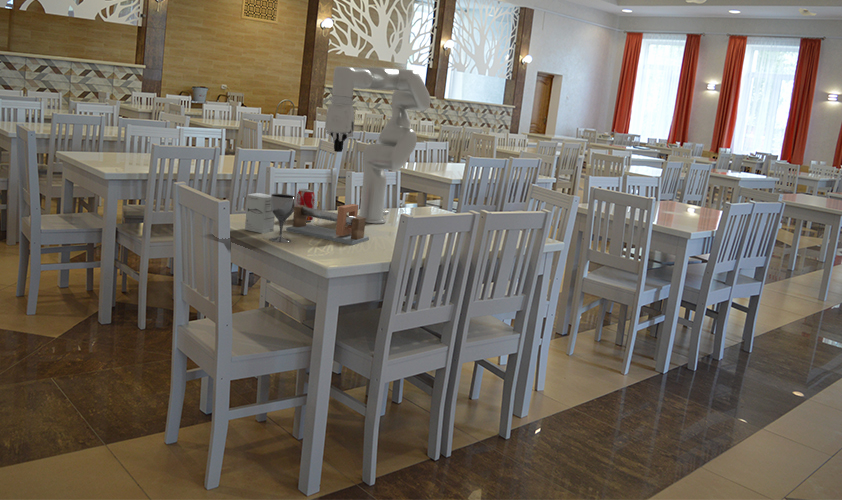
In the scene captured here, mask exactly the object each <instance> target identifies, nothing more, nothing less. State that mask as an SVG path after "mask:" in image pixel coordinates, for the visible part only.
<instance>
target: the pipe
mask: <svg viewBox="0 0 842 500" xmlns="http://www.w3.org/2000/svg"><path fill="white" fill-rule="evenodd" d="M301 214H302V215H305V216H310V217H313V218H314V219H320V220H325V221H330V222H335V223H337V215H338V212H332V211H327V210H322V209H317V208H314V209H312V208H307V207H303V208H302V210H301ZM353 218H355V217H353V216H349V214H347V215H346V225H348V224H349V225H352V221H353Z"/></svg>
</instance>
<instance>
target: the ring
mask: <svg viewBox="0 0 842 500" xmlns="http://www.w3.org/2000/svg"><path fill="white" fill-rule="evenodd" d="M358 211H359V204H356V203H350V204H343V205H340V206H338V207H337V214H338V215H337V222H336V227H335V228H336V229H335V230H336V235H338V236H344V235H348V234H351V232H352V225H349V224H346V215H348V216H353V217H357V215H358ZM346 225H347V226H346Z"/></svg>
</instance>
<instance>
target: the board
mask: <svg viewBox="0 0 842 500" xmlns="http://www.w3.org/2000/svg"><path fill="white" fill-rule="evenodd" d="M285 229H286V230H285V231H286V232H290V233H296V234H298V235H305V236H308V237H309V236H310V237H314V238H319V239H322V240H328V241H332V242H337V243H342V244H347V245H351V246H353V245H358V244H360V243H364V242H366V241H369V239H370V237H369V236H367V235H364V238H362V239H358V240H355V239H351V234H348V235H344V236H338V235H336V229H335V228H328V227H325V226H324V227H323V226H319V225H315V224H311V223H310V224H309V223H306V226H303V227H293V225H291V226H287V227H286V228H285Z"/></svg>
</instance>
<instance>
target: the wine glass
mask: <svg viewBox="0 0 842 500" xmlns="http://www.w3.org/2000/svg"><path fill="white" fill-rule="evenodd" d="M270 195H271V209H272V212H273V214H274V215H275V217H276V219H277V222H278V225H279V233H278V236H277V237H275V236H274V237H270V238H269V239H268V240H269V241H270V240H271V241H270V242H273V241H274V242H273V243H283V244H286V243H291V242H292V240H291V239H290V238H286V237H283V228H284V224H285V222H286V220H288V219H289V217H290V216H292V214H294V206H296V199H297V196H296V195H293V194H288V193H271V194H270Z"/></svg>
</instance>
